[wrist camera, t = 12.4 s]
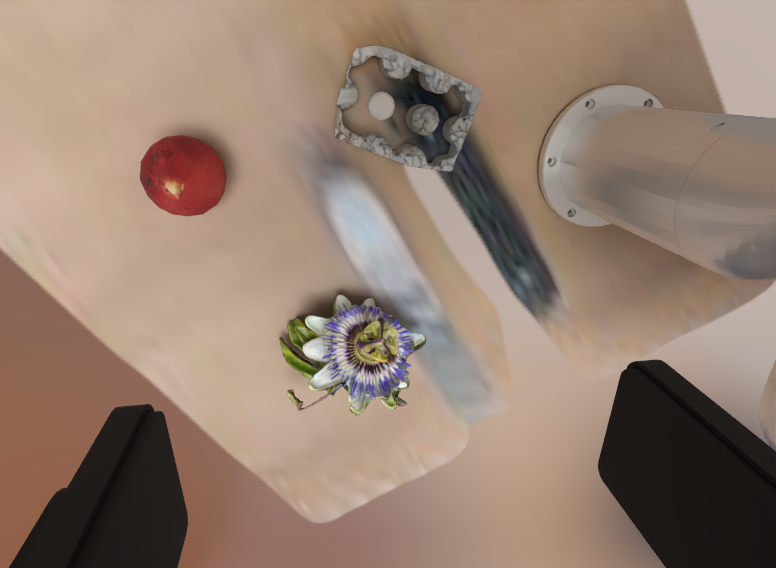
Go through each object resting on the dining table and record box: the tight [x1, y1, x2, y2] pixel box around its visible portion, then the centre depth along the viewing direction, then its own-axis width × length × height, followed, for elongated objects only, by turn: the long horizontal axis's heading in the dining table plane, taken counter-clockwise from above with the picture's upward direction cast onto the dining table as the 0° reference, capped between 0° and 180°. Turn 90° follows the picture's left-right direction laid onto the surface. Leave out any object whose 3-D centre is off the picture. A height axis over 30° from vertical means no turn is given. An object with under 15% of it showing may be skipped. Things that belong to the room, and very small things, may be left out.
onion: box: [140, 136, 226, 216], centre depth 34 cm, size 6×6×8 cm
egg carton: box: [334, 46, 482, 172], centre depth 37 cm, size 11×8×4 cm
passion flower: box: [279, 295, 426, 416], centre depth 43 cm, size 11×11×12 cm
